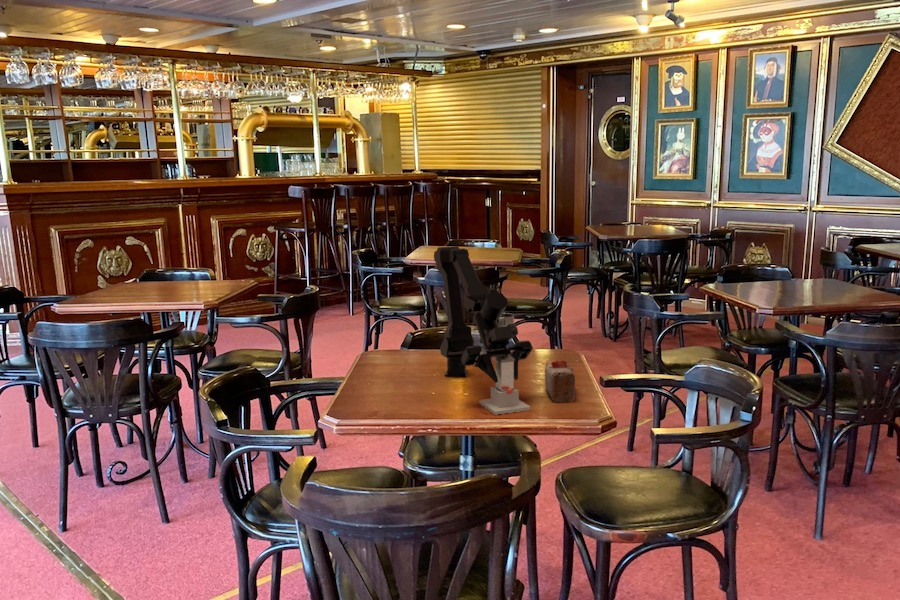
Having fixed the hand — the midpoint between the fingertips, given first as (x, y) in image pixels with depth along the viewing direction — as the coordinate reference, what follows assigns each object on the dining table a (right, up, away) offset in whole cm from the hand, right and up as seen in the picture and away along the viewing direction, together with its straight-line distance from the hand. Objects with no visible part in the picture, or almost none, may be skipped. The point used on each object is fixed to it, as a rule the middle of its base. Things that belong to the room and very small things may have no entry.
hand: (506, 380), depth 186 cm
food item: (+16, -6, +12) cm, 21 cm away
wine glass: (+2, +1, +51) cm, 51 cm away
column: (0, -6, +2) cm, 7 cm away
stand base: (0, -7, +3) cm, 8 cm away
